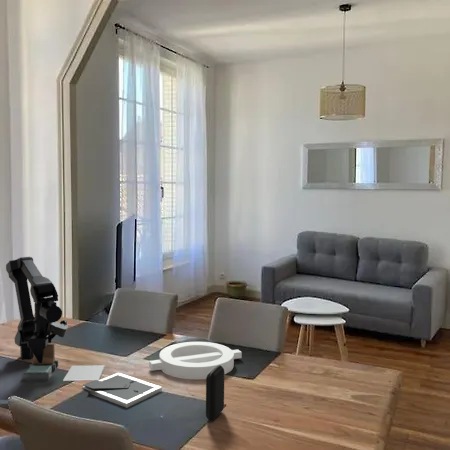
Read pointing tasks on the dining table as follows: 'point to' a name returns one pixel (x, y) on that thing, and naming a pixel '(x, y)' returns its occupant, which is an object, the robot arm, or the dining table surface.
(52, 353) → the brown flat block
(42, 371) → the offcut upper
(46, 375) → the rack
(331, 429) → the dining table surface
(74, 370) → the board
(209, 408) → the carrying case or bag
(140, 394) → the picture frame
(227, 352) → the ring with crossbar
